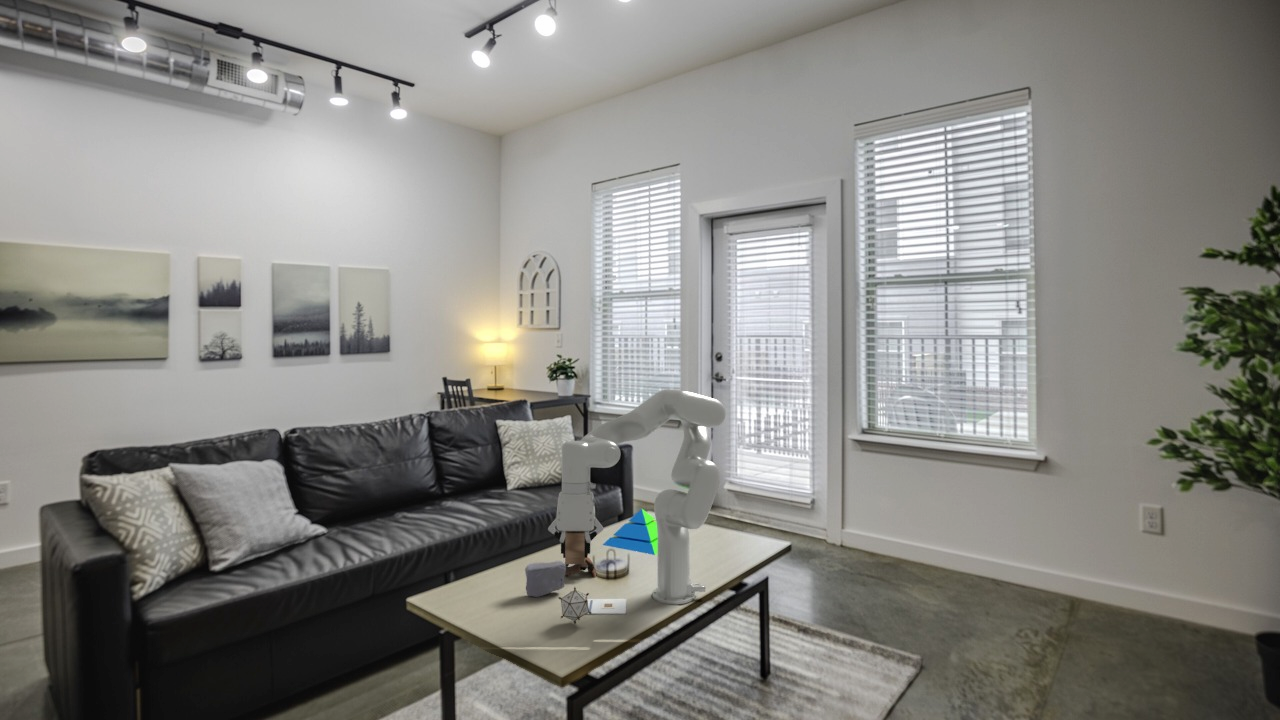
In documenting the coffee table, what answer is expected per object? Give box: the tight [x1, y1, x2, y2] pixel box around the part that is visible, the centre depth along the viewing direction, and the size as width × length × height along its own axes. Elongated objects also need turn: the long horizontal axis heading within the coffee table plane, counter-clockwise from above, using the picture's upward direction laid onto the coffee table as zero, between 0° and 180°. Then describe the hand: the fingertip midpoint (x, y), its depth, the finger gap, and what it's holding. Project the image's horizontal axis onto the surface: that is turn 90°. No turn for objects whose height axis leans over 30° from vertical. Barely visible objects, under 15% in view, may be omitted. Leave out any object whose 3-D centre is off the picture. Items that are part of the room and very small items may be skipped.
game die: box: [557, 586, 593, 624], centre depth 166 cm, size 9×8×10 cm
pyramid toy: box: [602, 508, 658, 556], centre depth 237 cm, size 25×25×14 cm
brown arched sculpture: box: [564, 556, 597, 578], centre depth 203 cm, size 12×9×8 cm
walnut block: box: [564, 532, 586, 565], centre depth 166 cm, size 5×5×8 cm
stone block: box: [524, 560, 566, 598], centre depth 186 cm, size 12×5×10 cm, turn 105°
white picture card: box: [586, 598, 627, 615], centre depth 178 cm, size 12×10×1 cm
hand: (575, 555), depth 166 cm, fingers closed on walnut block, 5 cm apart
